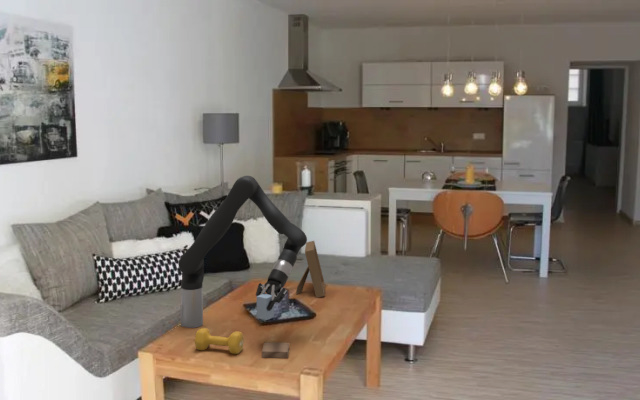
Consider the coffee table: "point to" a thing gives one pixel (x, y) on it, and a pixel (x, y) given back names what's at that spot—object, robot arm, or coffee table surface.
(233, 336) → the dumbbell
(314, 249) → the photo frame
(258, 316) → the pillar
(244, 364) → the coffee table surface
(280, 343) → the slab
